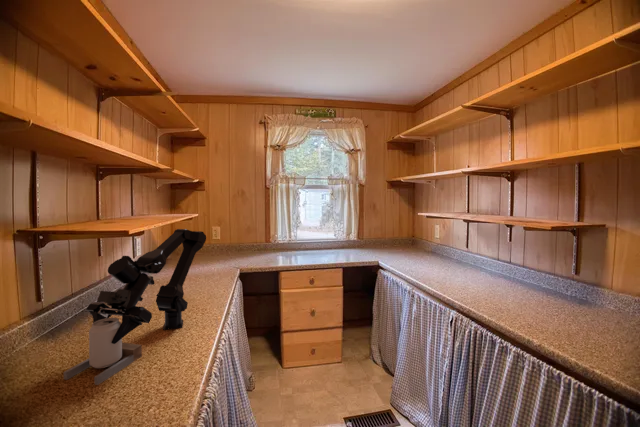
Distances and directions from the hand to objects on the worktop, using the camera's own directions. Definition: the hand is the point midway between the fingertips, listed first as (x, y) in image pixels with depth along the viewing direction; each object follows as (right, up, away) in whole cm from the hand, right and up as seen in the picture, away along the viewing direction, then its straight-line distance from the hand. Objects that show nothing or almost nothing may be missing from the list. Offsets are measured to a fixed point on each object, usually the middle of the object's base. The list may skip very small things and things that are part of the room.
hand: (101, 342), depth 80 cm
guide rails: (0, -8, 0) cm, 8 cm away
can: (0, -7, +2) cm, 7 cm away
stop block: (+1, -8, +7) cm, 10 cm away
